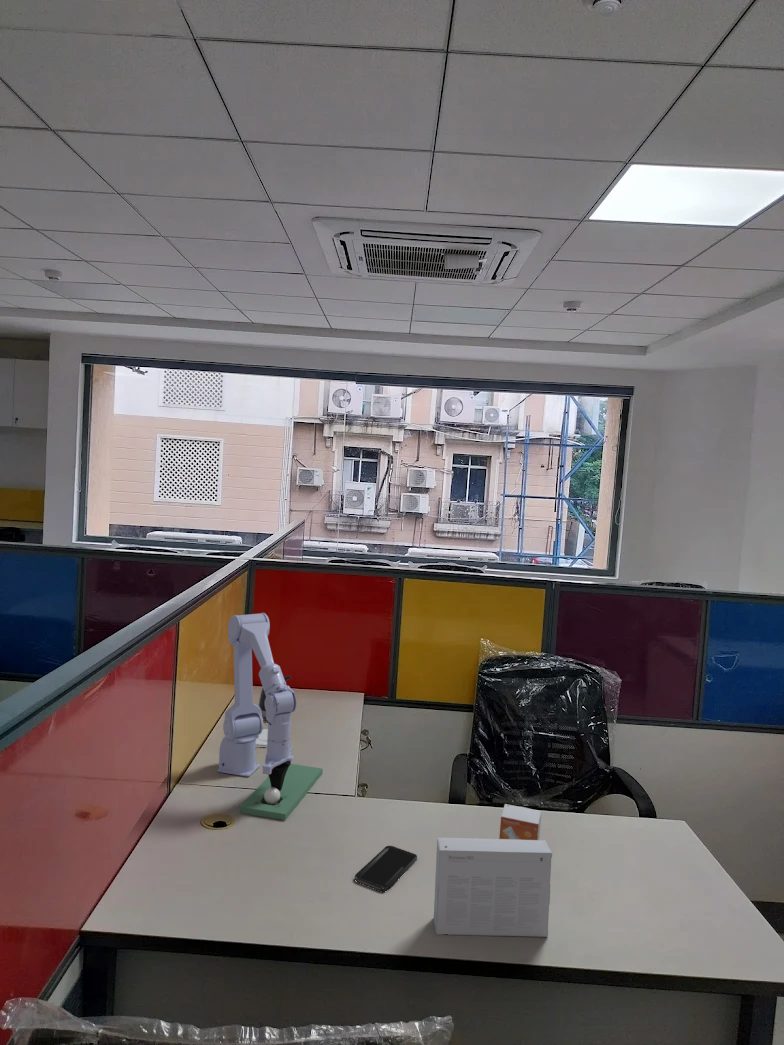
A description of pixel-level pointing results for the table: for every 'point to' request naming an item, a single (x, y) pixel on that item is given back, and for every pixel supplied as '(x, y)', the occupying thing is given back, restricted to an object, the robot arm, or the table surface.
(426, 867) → the table surface
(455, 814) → the table surface
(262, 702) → the pump dispenser
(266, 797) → the ball
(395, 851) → the phone
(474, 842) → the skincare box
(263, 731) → the external hard drive
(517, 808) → the small box
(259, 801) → the putting deck
